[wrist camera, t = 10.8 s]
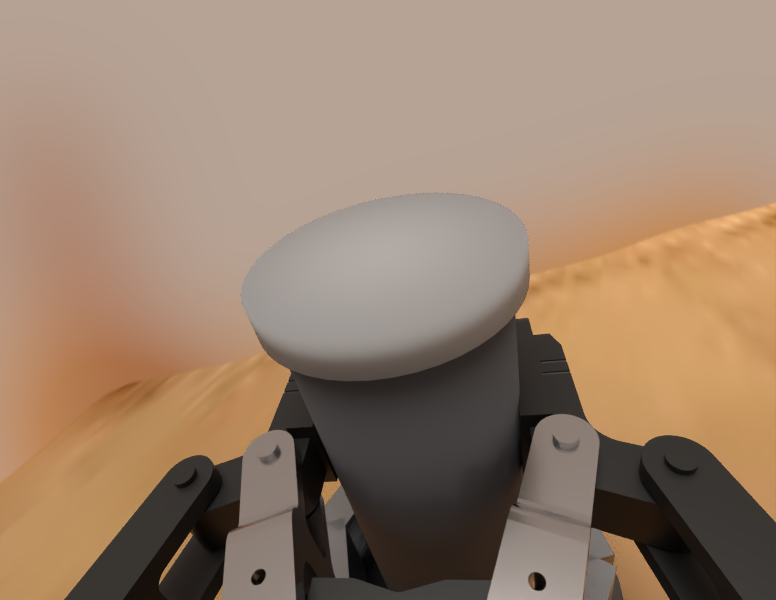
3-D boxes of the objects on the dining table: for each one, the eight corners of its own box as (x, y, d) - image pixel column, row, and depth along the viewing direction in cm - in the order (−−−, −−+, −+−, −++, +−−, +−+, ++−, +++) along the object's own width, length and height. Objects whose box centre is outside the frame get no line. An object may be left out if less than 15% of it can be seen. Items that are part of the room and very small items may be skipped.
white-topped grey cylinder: (343, 584, 15) (184, 301, 9) (427, 459, 19) (360, 188, 12) (494, 700, 12) (424, 387, 5) (563, 523, 15) (571, 199, 9)
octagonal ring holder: (262, 642, 17) (223, 601, 15) (418, 429, 23) (405, 380, 21) (561, 948, 10) (563, 948, 8) (657, 533, 17) (671, 477, 15)
